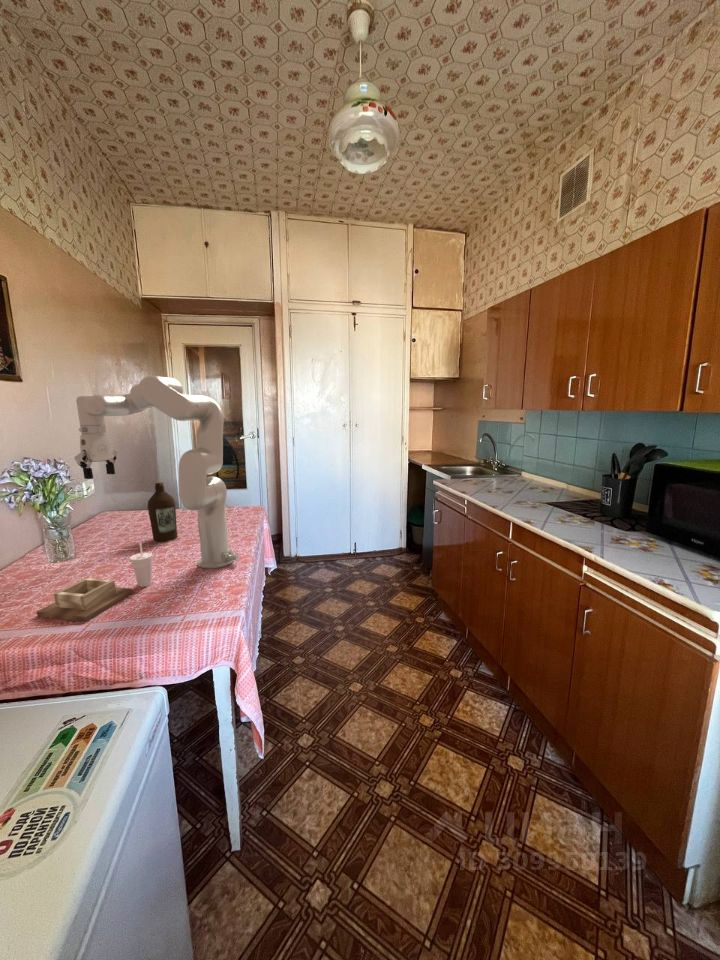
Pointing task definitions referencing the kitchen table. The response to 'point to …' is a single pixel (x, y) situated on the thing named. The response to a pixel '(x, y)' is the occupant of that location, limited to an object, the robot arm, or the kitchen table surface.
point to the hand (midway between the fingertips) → (100, 476)
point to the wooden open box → (85, 600)
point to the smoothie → (142, 567)
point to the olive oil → (162, 515)
